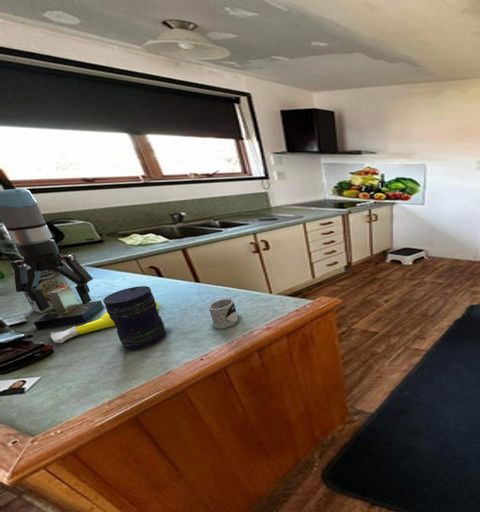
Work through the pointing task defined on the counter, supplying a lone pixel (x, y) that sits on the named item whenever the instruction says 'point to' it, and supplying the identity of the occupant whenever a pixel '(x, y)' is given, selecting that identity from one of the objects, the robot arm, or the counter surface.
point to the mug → (223, 313)
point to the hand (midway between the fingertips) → (66, 305)
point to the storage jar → (135, 317)
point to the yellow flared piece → (85, 328)
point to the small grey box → (63, 299)
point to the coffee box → (46, 286)
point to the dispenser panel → (69, 316)
